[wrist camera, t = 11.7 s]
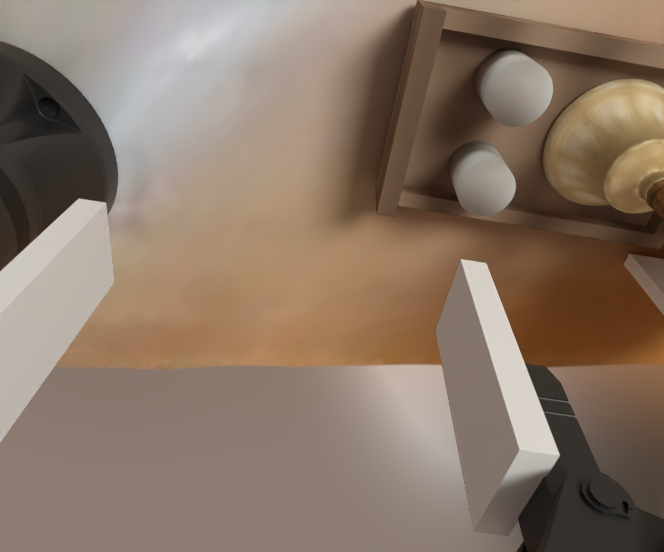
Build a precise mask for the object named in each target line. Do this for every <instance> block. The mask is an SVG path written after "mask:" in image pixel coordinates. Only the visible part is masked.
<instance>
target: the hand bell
mask: <svg viewBox="0 0 664 552" xmlns="http://www.w3.org/2000/svg"><path fill="white" fill-rule="evenodd" d="M543 167H544V172H545V175H546V178H547V180H548V182H549V183H550V185H551V186H552V188H553V189H554V190H555V191H556V192H557V193H558V194H559V195H561V196H562V197H564V198H566V199H567V200H569V201H571V202H574V203H578V204H582V205H590V206H602V205H611V206H612V207H614V208H616V209H617V210H620V211H622V212H626V213H645V212H649V211H652V210H655V211H656V212H657V213H658V214H659V215H660V216H661V217H663V218H664V88H662V87H661V86H659V85H658V84H655V83H652V82H650V81H646V80H642V79H621V80H614V81H610V82H607V83H604V84H602V85H599V86H596V87H594V88H592V89H590V90H589V91H587V92H585V93H584V94H582V95H581V96H579V97H578V98H577V99H575V100H574V101H573V102H572V103H571V104H570V105H568V106H567V107H566V108H565V110H564V111H563V112H562V113H561V114H560V116H559V117H558V118H557V119H556V121H555V122H554V124H553V126H552V127H551V130H550V132H549V134H548V136H547V139H546V142H545V146H544V151H543Z"/></svg>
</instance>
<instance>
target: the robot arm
mask: <svg viewBox="0 0 664 552" xmlns="http://www.w3.org/2000/svg"><path fill="white" fill-rule="evenodd" d="M117 185H118V169H117V162H116V157H115V153H114V149H113V146H112V143H111V140H110V138H109V135H108V133H107V131H106V129H105V127H104V125H103V123H102V121H101V119H100V118H99V116H98V114H97V113H96V111H95V110H94V108H93V107H92V106H91V104H90V103H89V102H88V100H87V99H86V98H85V97H84V96H83V94H82V93H81V92H80V91H79V90H78V89H77V88H76V87H75V86H74V85H73V84H72V83H71V82H70V81H69V80H68V79H67V78H66V77H64V76H63V75H62V74H61V73H60V72H58V71H57V70H56V69H54V68H53V67H52V66H50V65H49V64H47V63H46V62H44V61H43V60H41V59H40V58H38V57H36V56H34V55H33V54H31V53H29V52H27V51H25V50H22V49H20V48H18V47H15V46H13V45H10V44H7V43H4V42H0V442H1V441H2V439H3V438H4V437H5V435H6V434H7V432H8V431H9V430H10V428H11V427H12V425H13V424H14V422H15V421H16V420H17V418H18V417H19V415H20V414H21V413H22V411H23V410H24V408H25V407H26V405H27V404H28V402H29V401H30V400H31V399H32V397H33V396H34V394H35V393H36V392H37V390H38V389H39V387H40V386H41V385H42V383H43V382H44V380H45V379H46V378H47V376H48V375H49V373H50V372H51V371H52V369H53V368H54V366H55V365H56V363H57V362H58V361H59V359H60V358H61V356H62V355H63V354H64V352H65V351H66V349H67V348H68V347H69V345H70V344H71V342H72V341H73V340H74V338H75V337H76V335H77V334H78V333H79V331H80V330H81V328H82V327H83V326H84V324H85V323H86V321H87V320H88V319H89V317H90V316H91V314H92V313H93V312H94V310H95V309H96V307H97V306H98V304H99V303H100V302H101V300H102V299H103V297H104V296H105V295H106V293H107V292H108V290H109V289H110V288H111V286H112V285H113V283H114V274H113V264H112V255H111V245H110V235H109V225H108V213H109V212H110V210H111V208H112V205H113V203H114V200H115V197H116V192H117ZM436 336H437V341H438V347H439V352H440V357H441V363H442V368H443V373H444V378H445V383H446V389H447V394H448V400H449V405H450V410H451V415H452V421H453V426H454V431H455V436H456V442H457V446H458V452H459V458H460V463H461V468H462V473H463V479H464V484H465V489H466V494H467V500H468V505H469V510H470V515H471V521H472V526H473V531H474V532H481V533H489V534H497V535H504V536H509V534H510V533H511V531H512V530H513V528H514V527H515V525H516V524H517V522H518V521H519V524H520V528H521V531H522V535H523V539H524V541H523V543H522V544H521V546H520V547H519V549H518V550H517V552H664V519H662V518H660V517H657V516H655V515H653V514H650V513H648V512H646V511H643V510H641V509H640V508H637V507H636V506H635V504H634V502H633V500H632V498H631V497H630V495H629V494H628V493H627V492H626V491H625V489H624V488H623V487H622V486H621V485H620V484H619V483H618V482H616V481H615V480H613V479H612V478H610V477H609V476H607V475H606V474H604V473H601V472H600V470H599V468H598V465H597V463H596V461H595V459H594V456H593V454H592V452H591V450H590V448H589V445H588V443H587V441H586V439H585V436H584V435H583V432H582V430H581V427H580V425H579V423H578V421H577V419H576V418H575V417H574V416H575V414H574V412H573V410H572V407H571V405H570V404H568V398H567V396H566V394H565V392H564V389H563V387H562V385H561V383H560V382H559V381H558V380H557V379H556V378H555V376H554V375H553V374H552V373H551V372H550V371H549V370H548V369H547V367H545V366H538V365H531V364H525V363H524V360H523V358H522V355H521V352H520V350H519V347H518V345H517V342H516V339H515V337H514V334H513V332H512V329H511V326H510V324H509V321H508V318H507V316H506V313H505V311H504V308H503V305H502V303H501V300H500V298H499V295H498V292H497V290H496V287H495V285H494V282H493V279H492V277H491V274H490V272H489V269H488V266H487V264H486V263H482V262H476V261H470V260H463V259H460V262H459V265H458V268H457V271H456V274H455V277H454V280H453V282H452V285H451V288H450V291H449V294H448V297H447V300H446V302H445V305H444V308H443V311H442V314H441V317H440V320H439V322H438V325H437V328H436Z"/></svg>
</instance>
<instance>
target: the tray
mask: <svg viewBox="0 0 664 552" xmlns="http://www.w3.org/2000/svg"><path fill="white" fill-rule="evenodd" d="M621 79H642V80H646V81H650V82H652V83H655V84H658V85H659V86H661V87H662V88H664V45H661V44H656V43H650V42H645V41H639V40H634V39H629V38H623V37H618V36H612V35H607V34H601V33H596V32H591V31H585V30H580V29H574V28H569V27H564V26H558V25H553V24H547V23H542V22H536V21H531V20H526V19H520V18H515V17H509V16H504V15H499V14H493V13H488V12H482V11H477V10H471V9H466V8H461V7H455V6H450V5H444V4H439V3H434V2H428V1H423V0H417V3H416V8H415V12H414V17H413V21H412V26H411V30H410V35H409V39H408V44H407V48H406V53H405V57H404V62H403V66H402V71H401V75H400V80H399V84H398V89H397V94H396V98H395V103H394V107H393V112H392V116H391V121H390V125H389V130H388V134H387V139H386V143H385V148H384V152H383V157H382V161H381V166H380V170H379V175H378V179H377V184H376V188H375V189H376V209H377V214H380V215H386V216H392V217H395V215H396V211H397V207H398V206H403V207H409V208H415V209H421V210H427V211H433V212H439V213H445V214H452V215H458V216H464V217H470V218H476V219H482V220H488V221H494V222H500V223H506V224H512V225H518V226H524V227H530V228H536V229H542V230H548V231H554V232H560V233H566V234H572V235H578V236H584V237H590V238H596V239H602V240H608V241H614V242H620V243H626V244H632V245H638V246H644V247H650V248H656V249H661V248H662V246H663V244H664V218H663V217H661V216H660V215H659V214H658V213H657V212H656V211H655V210H652V211H649V212H645V213H626V212H622V211H620V210H617V209H616V208H614V207H612V206H611V205H602V206H590V205H582V204H578V203H574V202H571V201H569V200H567V199H566V198H564V197H562V196H561V195H559V194H558V193H557V192H556V191H555V190H554V189H553V188H552V186H551V185H550V183H549V182H548V180H547V178H546V175H545V172H544V167H543V151H544V146H545V142H546V139H547V136H548V134H549V132H550V130H551V127H552V126H553V124H554V122H555V121H556V119H557V118H558V117H559V116H560V114H561V113H562V112H563V111H564V110H565V108H566V107H567V106H568V105H570V104H571V103H572V102H573V101H574V100H575V99H577V98H578V97H579V96H581V95H582V94H584V93H585V92H587V91H589V90H590V89H592V88H594V87H596V86H599V85H602V84H604V83H607V82H610V81H614V80H621Z"/></svg>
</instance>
